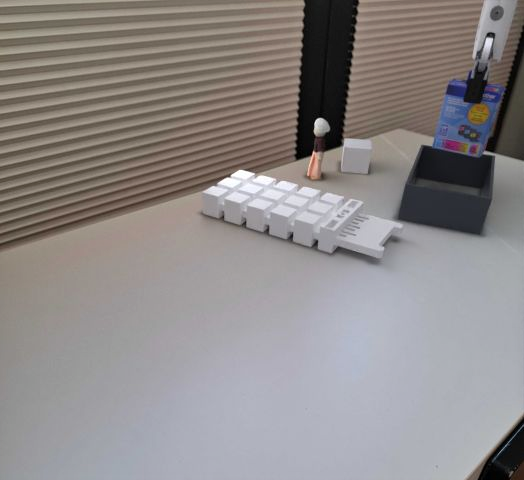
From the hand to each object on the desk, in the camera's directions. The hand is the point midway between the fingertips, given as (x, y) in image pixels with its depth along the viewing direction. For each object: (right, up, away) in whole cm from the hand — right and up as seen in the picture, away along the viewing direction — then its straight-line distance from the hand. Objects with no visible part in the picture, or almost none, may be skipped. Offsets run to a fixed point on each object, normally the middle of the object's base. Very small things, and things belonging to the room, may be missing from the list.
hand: (472, 97), depth 97 cm
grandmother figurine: (-29, -11, +15) cm, 34 cm away
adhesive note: (-19, -7, +20) cm, 29 cm away
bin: (-3, -19, +7) cm, 20 cm away
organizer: (-33, -25, -2) cm, 42 cm away
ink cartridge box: (0, -8, +7) cm, 10 cm away
